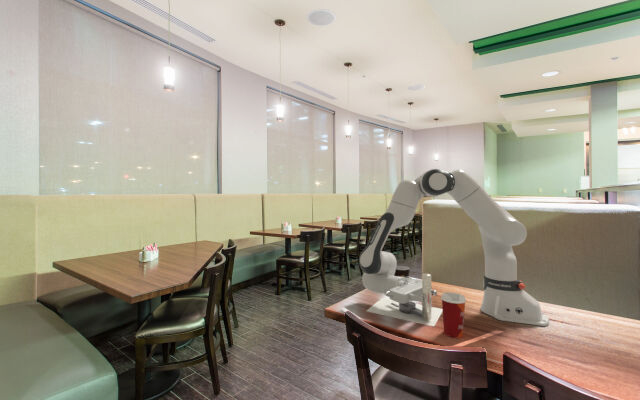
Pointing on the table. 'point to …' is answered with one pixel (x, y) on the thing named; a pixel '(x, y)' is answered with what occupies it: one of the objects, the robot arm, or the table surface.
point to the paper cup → (453, 314)
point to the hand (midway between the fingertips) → (429, 296)
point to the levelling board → (392, 310)
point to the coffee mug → (402, 271)
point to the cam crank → (426, 304)
